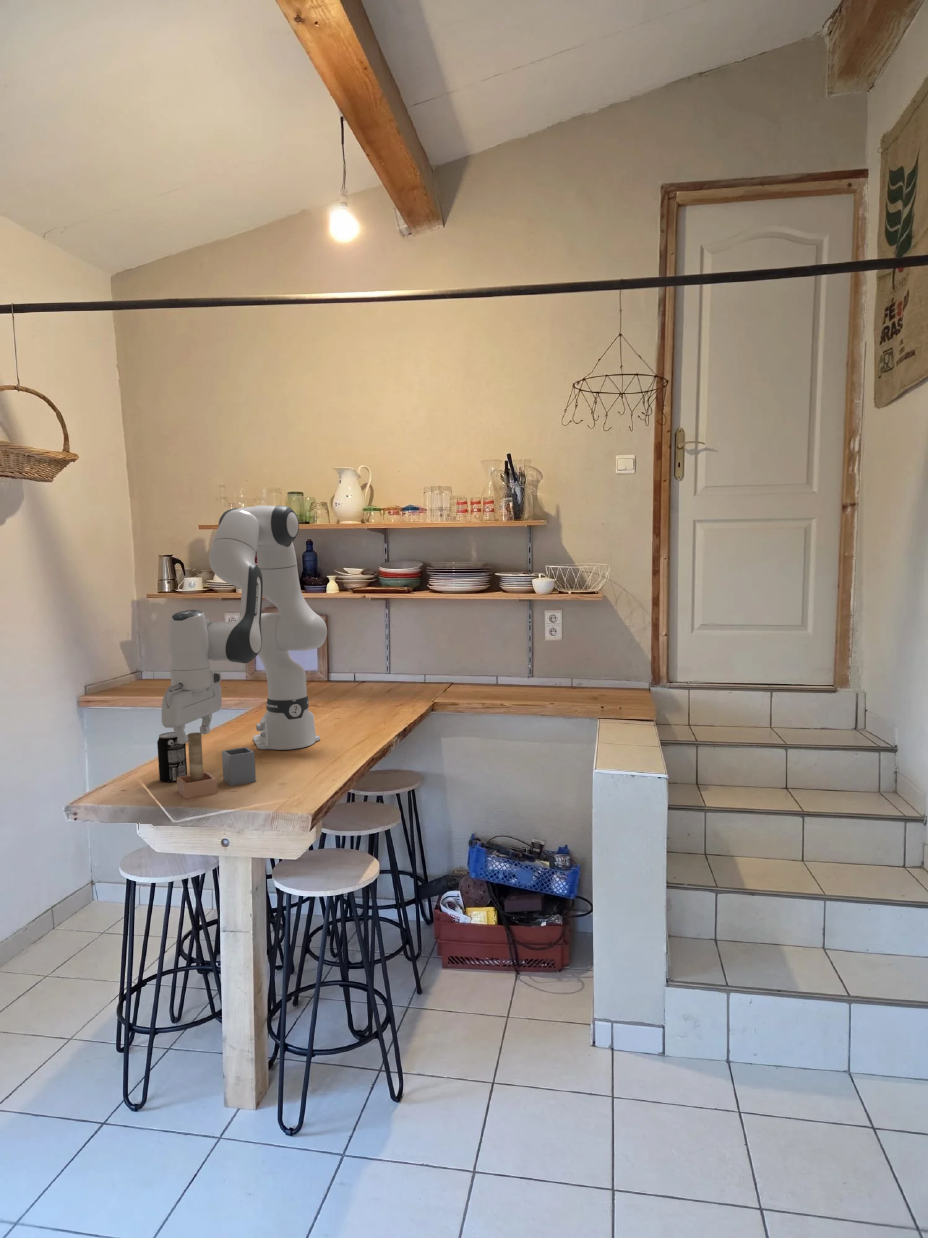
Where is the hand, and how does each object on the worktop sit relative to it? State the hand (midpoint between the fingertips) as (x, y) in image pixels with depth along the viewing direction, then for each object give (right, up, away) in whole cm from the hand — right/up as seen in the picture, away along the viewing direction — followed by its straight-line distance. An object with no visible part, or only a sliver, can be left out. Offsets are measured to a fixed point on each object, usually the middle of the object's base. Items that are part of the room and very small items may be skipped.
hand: (194, 738), depth 186 cm
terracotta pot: (0, -14, +1) cm, 14 cm away
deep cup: (+8, -13, +10) cm, 18 cm away
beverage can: (-10, -13, +13) cm, 20 cm away
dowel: (0, -13, +1) cm, 13 cm away
